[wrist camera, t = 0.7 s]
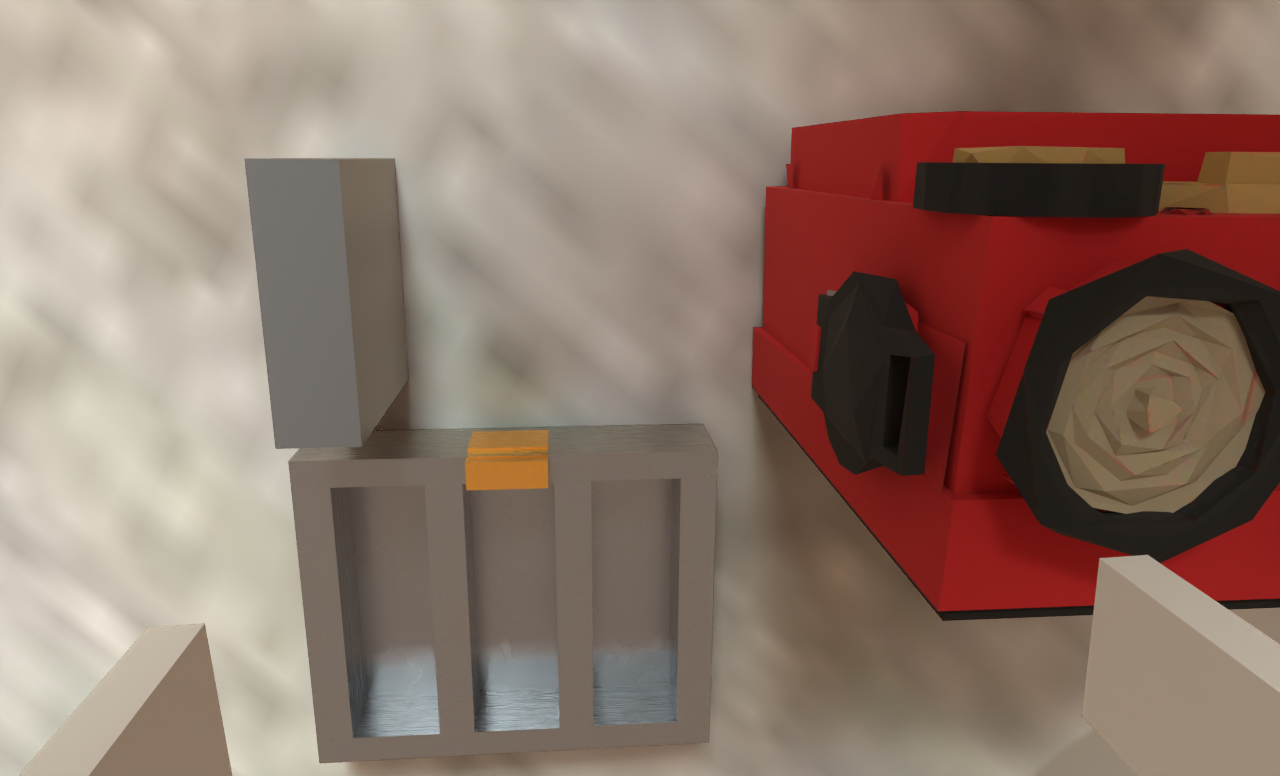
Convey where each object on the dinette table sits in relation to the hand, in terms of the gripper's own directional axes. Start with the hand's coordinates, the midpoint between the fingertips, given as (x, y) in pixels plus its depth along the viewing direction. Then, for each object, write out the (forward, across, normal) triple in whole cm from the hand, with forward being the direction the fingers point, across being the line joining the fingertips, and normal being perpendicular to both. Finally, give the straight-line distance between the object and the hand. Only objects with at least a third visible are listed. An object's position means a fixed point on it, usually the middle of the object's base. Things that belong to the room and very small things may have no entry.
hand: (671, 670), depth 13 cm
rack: (+21, -4, -9) cm, 23 cm away
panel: (+21, -8, +4) cm, 23 cm away
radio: (+21, +13, +3) cm, 25 cm away
